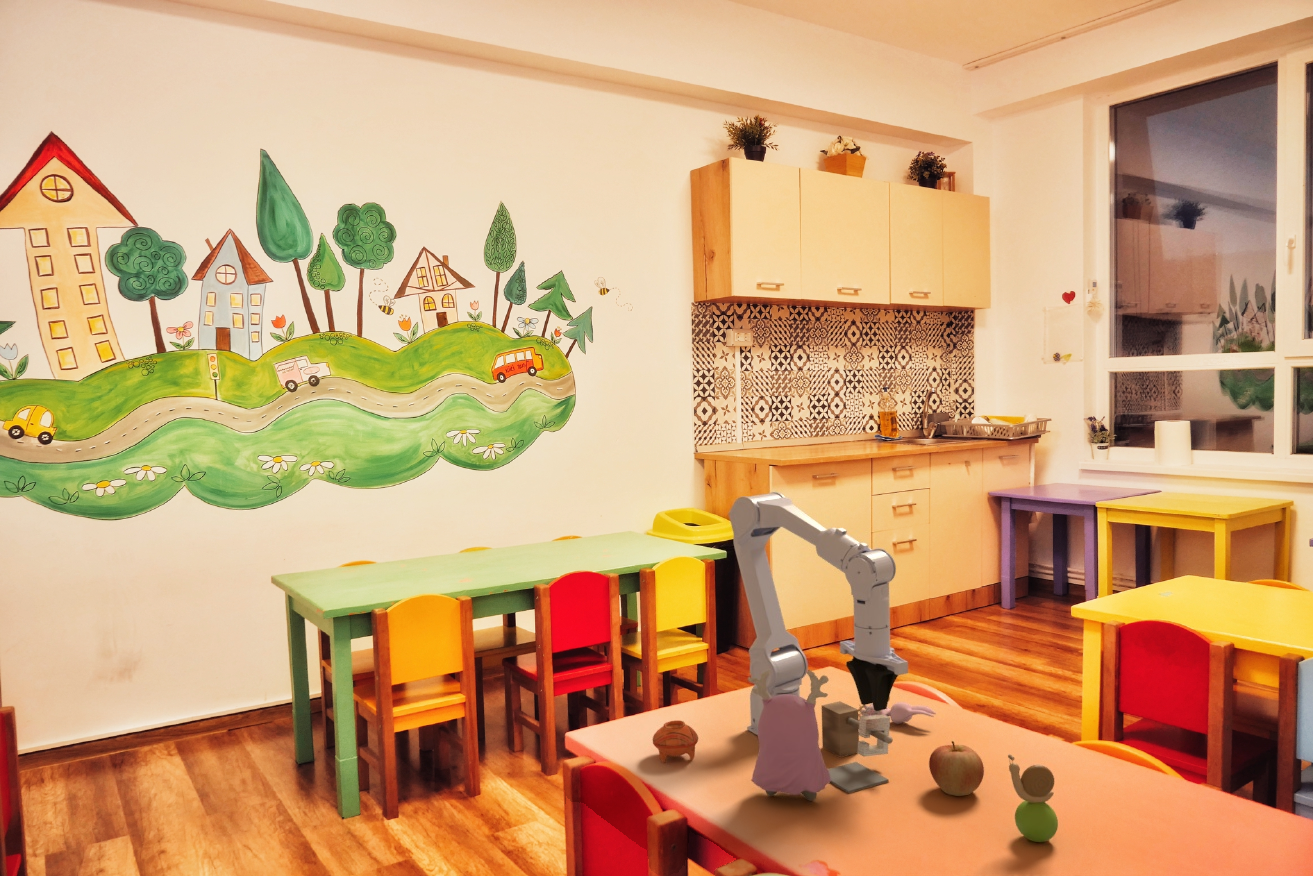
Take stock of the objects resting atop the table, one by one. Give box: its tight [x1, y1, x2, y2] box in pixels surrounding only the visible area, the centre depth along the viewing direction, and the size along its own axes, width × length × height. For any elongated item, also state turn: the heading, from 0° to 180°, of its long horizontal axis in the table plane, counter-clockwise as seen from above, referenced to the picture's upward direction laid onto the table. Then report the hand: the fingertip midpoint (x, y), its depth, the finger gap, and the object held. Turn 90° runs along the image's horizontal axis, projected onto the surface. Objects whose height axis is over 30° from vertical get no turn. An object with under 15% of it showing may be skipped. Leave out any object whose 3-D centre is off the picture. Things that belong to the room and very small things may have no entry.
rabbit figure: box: [858, 695, 937, 725], centre depth 167 cm, size 6×6×15 cm
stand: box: [821, 701, 893, 758], centre depth 150 cm, size 16×4×8 cm, turn 26°
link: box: [856, 714, 891, 757], centre depth 146 cm, size 2×5×6 cm, turn 116°
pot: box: [652, 720, 699, 763], centre depth 154 cm, size 8×8×7 cm
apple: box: [928, 740, 985, 797], centre depth 137 cm, size 8×8×8 cm
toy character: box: [747, 669, 831, 802], centre depth 137 cm, size 12×10×20 cm
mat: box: [827, 761, 889, 794], centre depth 143 cm, size 8×8×1 cm
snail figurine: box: [1007, 753, 1059, 843], centre depth 122 cm, size 5×6×12 cm
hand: (873, 706), depth 146 cm, fingers open, 3 cm apart
